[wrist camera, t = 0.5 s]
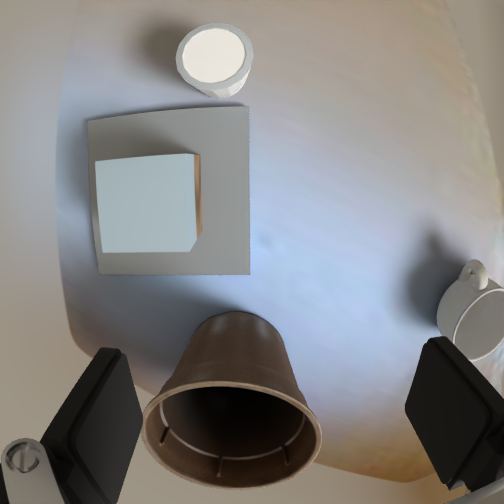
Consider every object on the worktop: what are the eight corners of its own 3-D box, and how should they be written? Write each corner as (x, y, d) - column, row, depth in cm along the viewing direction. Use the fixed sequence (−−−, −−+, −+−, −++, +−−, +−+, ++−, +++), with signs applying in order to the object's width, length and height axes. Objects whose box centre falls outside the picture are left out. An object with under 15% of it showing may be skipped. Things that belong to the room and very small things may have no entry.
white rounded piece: (266, 74, 30) (270, 55, 24) (219, 116, 32) (212, 106, 25) (222, 35, 29) (216, 9, 22) (176, 76, 30) (159, 58, 24)
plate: (92, 121, 31) (87, 120, 30) (248, 108, 32) (248, 106, 30) (103, 270, 36) (99, 274, 35) (250, 271, 37) (250, 274, 35)
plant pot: (163, 380, 41) (134, 469, 26) (186, 278, 37) (149, 357, 21) (274, 407, 43) (283, 498, 27) (317, 314, 38) (354, 402, 23)
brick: (113, 160, 28) (95, 161, 24) (193, 154, 28) (185, 153, 24) (118, 241, 30) (102, 252, 26) (196, 239, 30) (189, 251, 26)
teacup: (479, 323, 40) (508, 348, 32) (424, 344, 40) (449, 375, 32) (486, 238, 36) (522, 254, 28) (426, 253, 36) (461, 275, 29)
